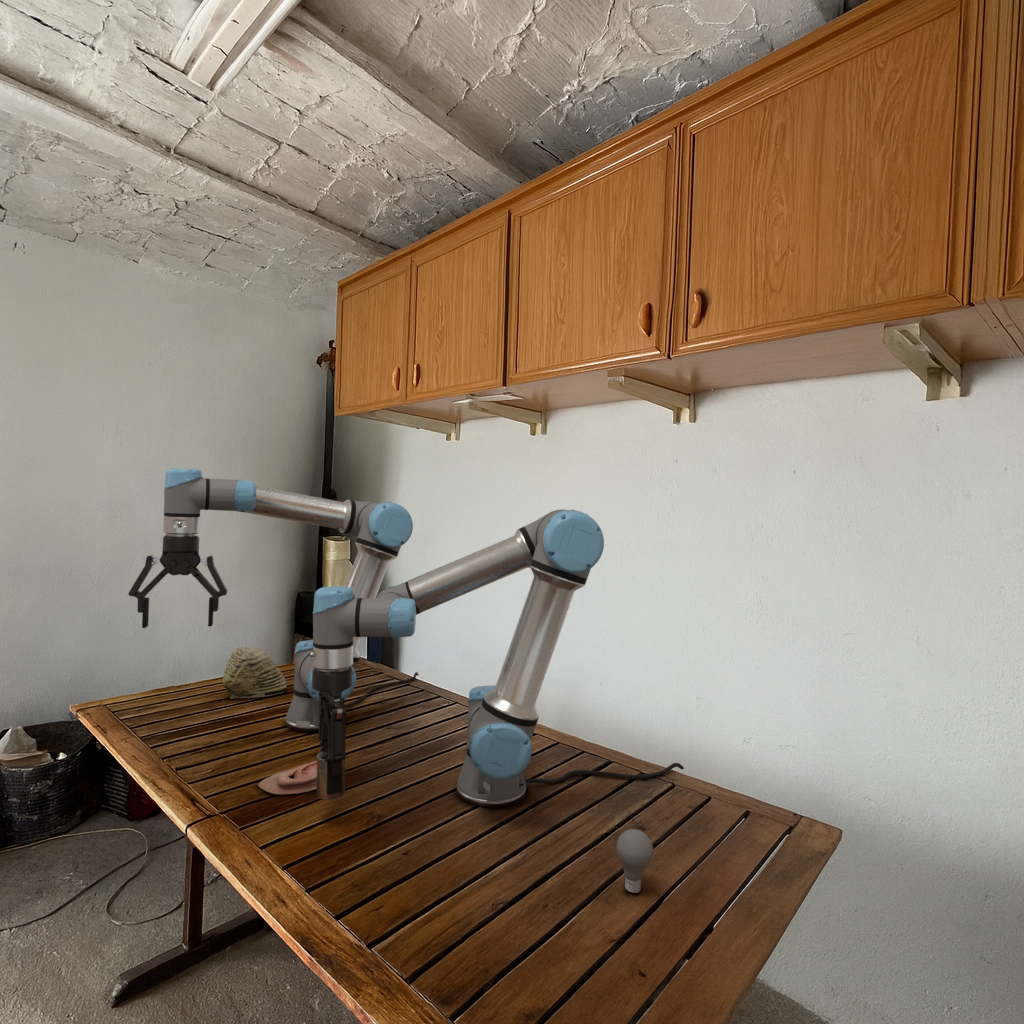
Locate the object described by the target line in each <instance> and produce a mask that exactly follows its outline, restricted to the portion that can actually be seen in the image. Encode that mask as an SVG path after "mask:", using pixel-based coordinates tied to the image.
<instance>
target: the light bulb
mask: <svg viewBox="0 0 1024 1024" xmlns="http://www.w3.org/2000/svg"><path fill="white" fill-rule="evenodd" d="M615 849H616V854H617V857H618V859H619V861H620V863H621V865H622V867H623V873H624V874H623V875H624V876H625V878H624V888H625V890H627V891H628V892H630V893H634V894H635V893H639V892H640V891H641V889H642V887H641V886H642V879H643V877H644V875H645V871H646V868H647V867H648V866H649V864H650V863H651V861H652V859H653V855H654V847H653V843H652V841H651V838H649V836H648V835H647V834H646V833H645V832H643V831H642V830H641V829H636V828H629V829H627V830H625V831H623V832H622V833H621V834H620V835H619V837H618V839H617V841H616V847H615Z"/></svg>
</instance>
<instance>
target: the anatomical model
mask: <svg viewBox="0 0 1024 1024" xmlns="http://www.w3.org/2000/svg"><path fill="white" fill-rule="evenodd" d="M257 786H258V787H259V788H260V789H261V790H263V791H264V792H267V793H269V794H271V795H295V794H301V793H306V792H307V793H308V792H310V791H315V790H317V760H315V761H312V762H308V763H305V764H302V765H299V766H297V767H294V768H291V769H288V770H286V771H281V772H278V773H275V774H273V775H270V776H267V777H266V778H264V779H263V780H261V781H260V782H259V783H258V784H257Z"/></svg>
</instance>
